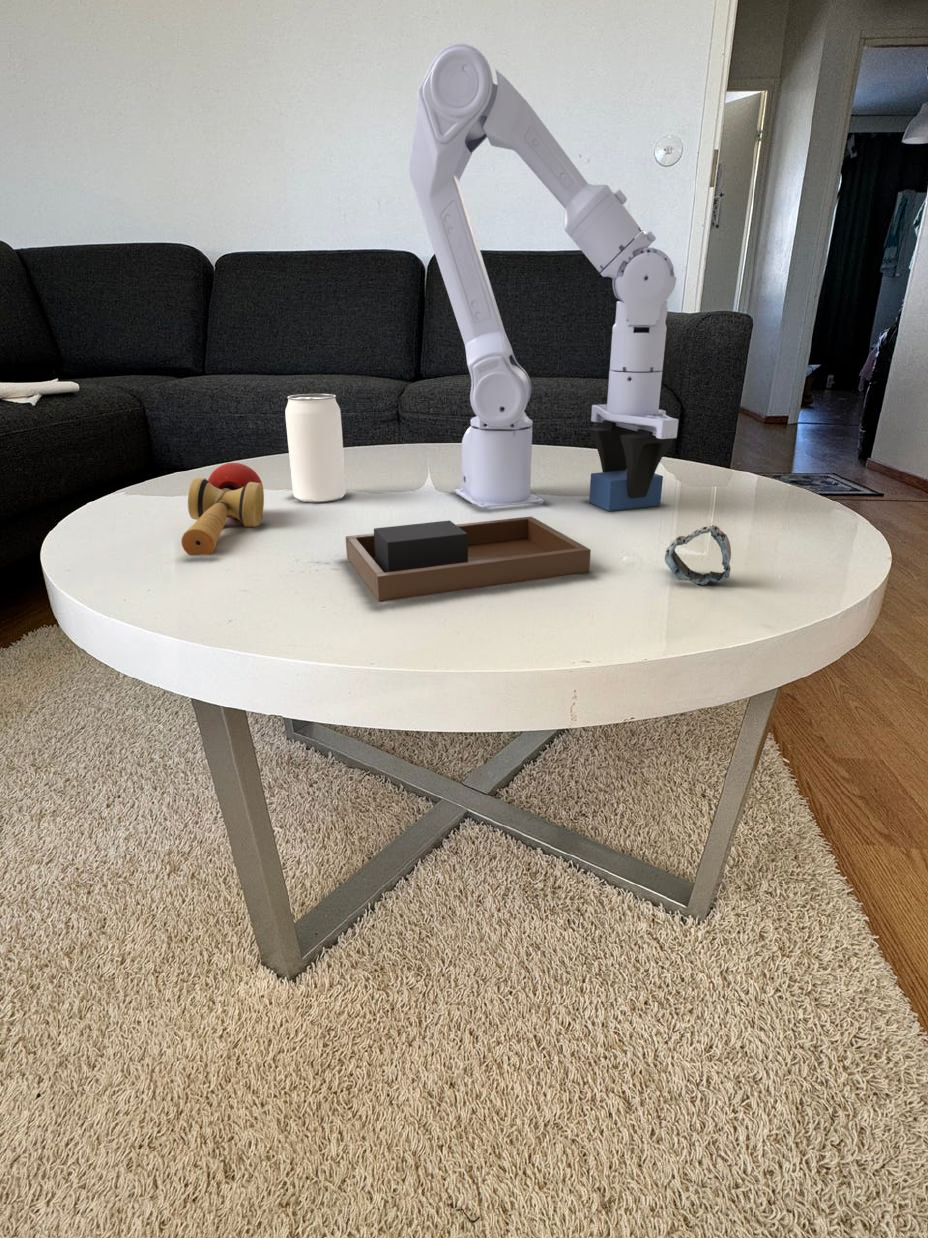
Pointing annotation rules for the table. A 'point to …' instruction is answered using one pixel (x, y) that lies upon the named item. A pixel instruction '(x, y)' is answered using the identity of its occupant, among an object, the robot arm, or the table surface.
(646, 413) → the robot arm
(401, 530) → the black rectangular block
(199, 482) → the kendama
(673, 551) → the rough grey ring
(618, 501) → the blue rectangular block
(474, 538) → the tray
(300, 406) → the can
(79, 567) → the table surface
